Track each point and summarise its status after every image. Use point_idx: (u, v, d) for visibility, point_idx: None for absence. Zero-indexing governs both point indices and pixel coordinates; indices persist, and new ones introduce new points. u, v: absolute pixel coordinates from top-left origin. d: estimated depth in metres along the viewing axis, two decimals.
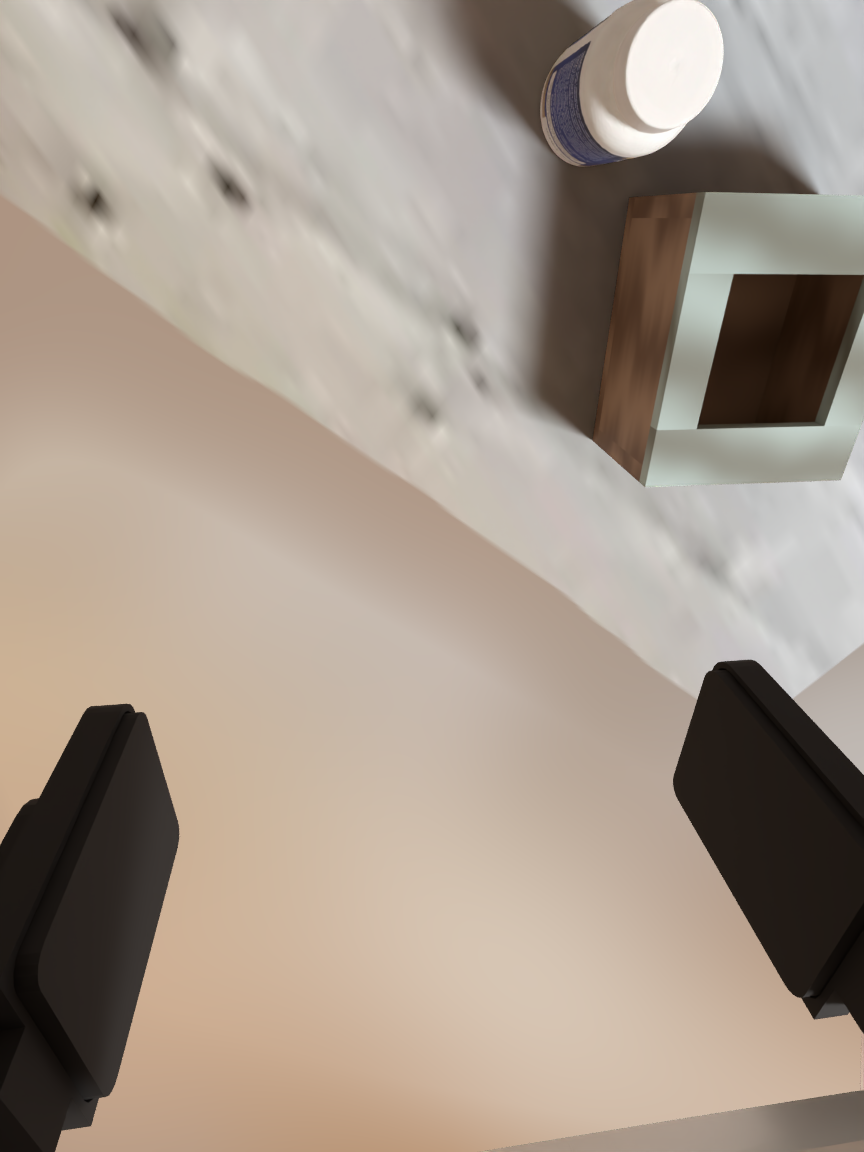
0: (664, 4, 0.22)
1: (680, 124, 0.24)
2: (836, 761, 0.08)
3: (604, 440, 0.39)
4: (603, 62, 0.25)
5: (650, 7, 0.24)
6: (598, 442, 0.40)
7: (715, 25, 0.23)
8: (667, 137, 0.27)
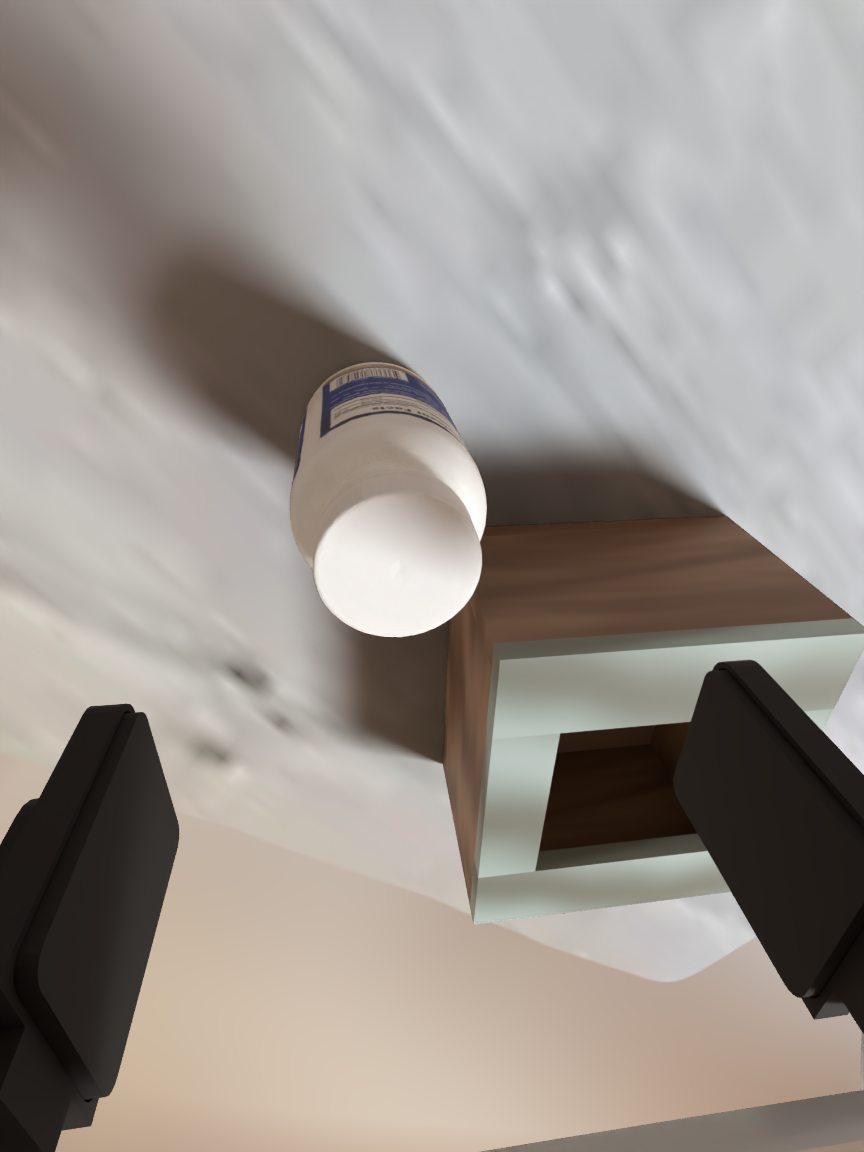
0: (362, 501, 0.13)
1: (426, 630, 0.15)
2: (836, 761, 0.08)
3: (449, 788, 0.30)
4: (308, 517, 0.15)
5: (371, 450, 0.15)
6: (446, 778, 0.31)
7: (458, 519, 0.14)
8: None
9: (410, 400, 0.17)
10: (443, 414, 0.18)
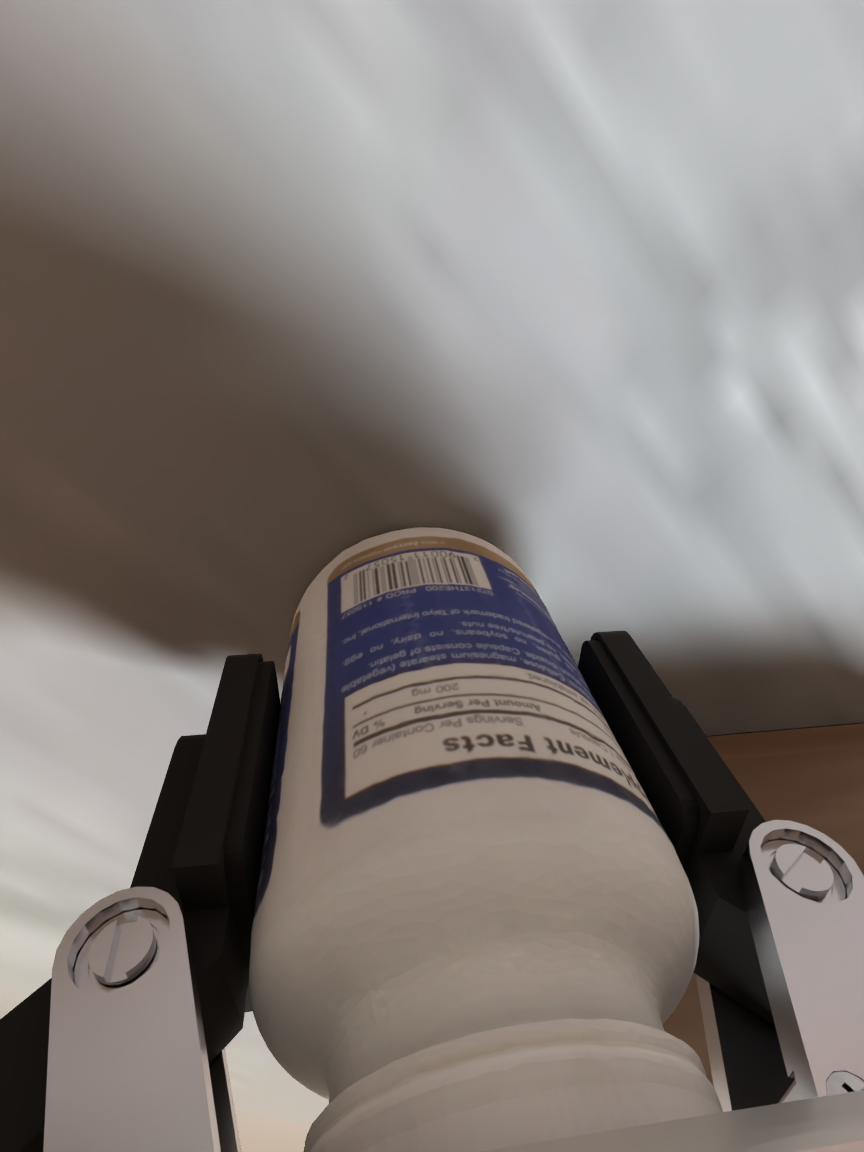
0: None
1: None
2: (673, 718, 0.09)
3: None
4: (291, 1037, 0.06)
5: (456, 924, 0.06)
6: None
7: None
8: None
9: (518, 683, 0.08)
10: (575, 684, 0.09)
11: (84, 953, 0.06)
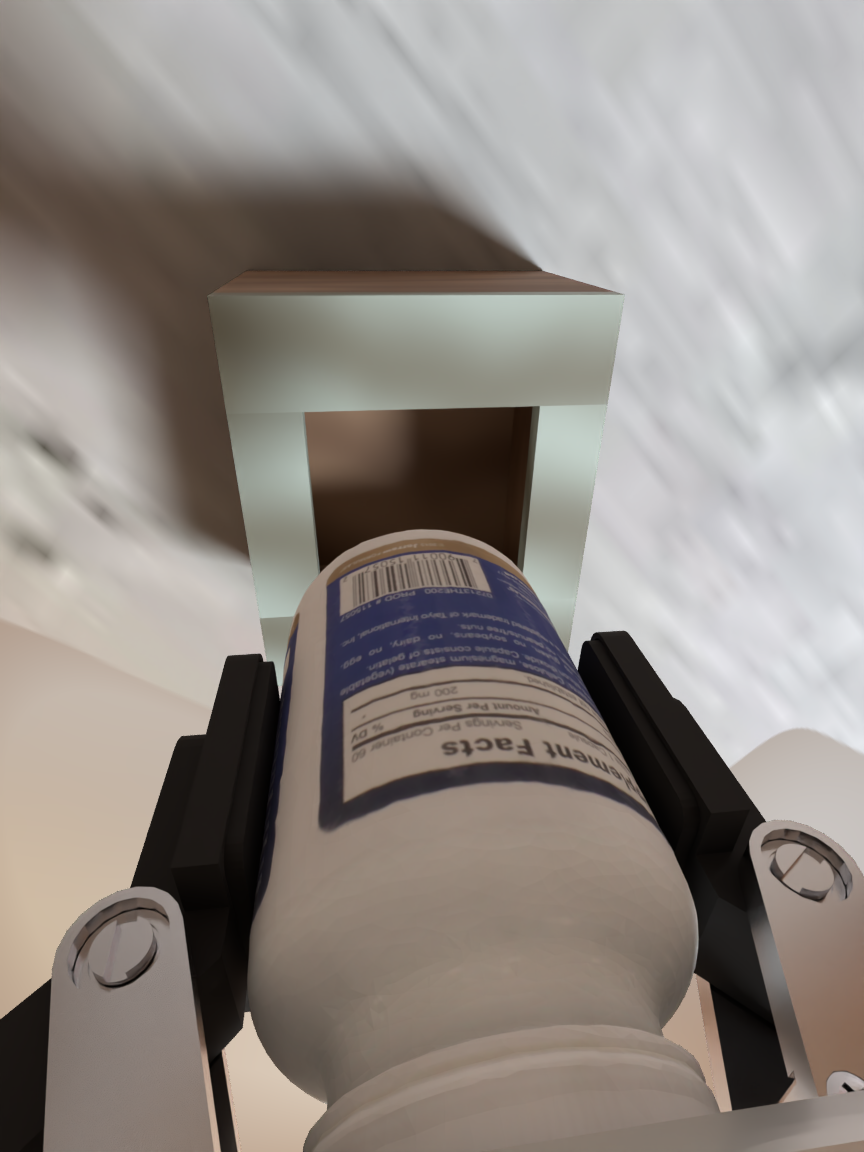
0: None
1: None
2: (673, 717, 0.09)
3: None
4: (289, 1042, 0.06)
5: (454, 930, 0.06)
6: None
7: None
8: None
9: (517, 686, 0.08)
10: (574, 687, 0.09)
11: (84, 953, 0.06)
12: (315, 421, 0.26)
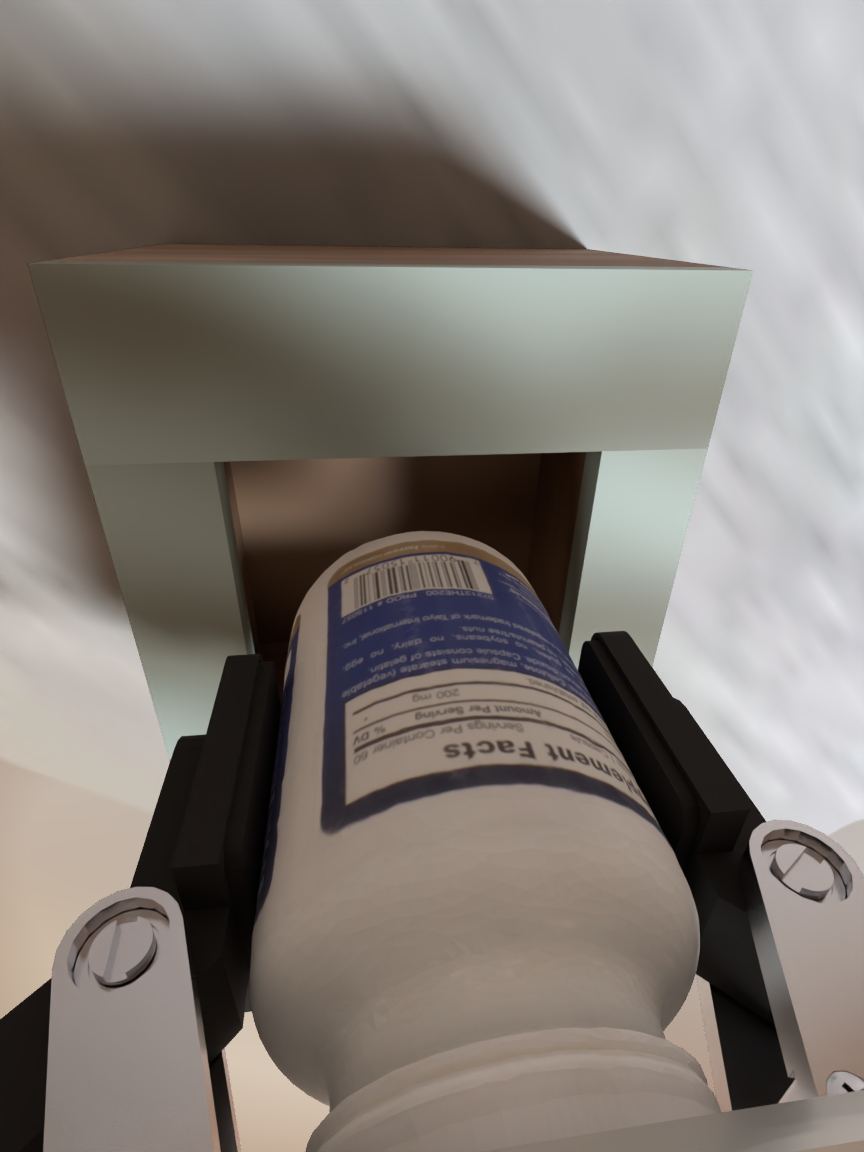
0: None
1: None
2: (673, 717, 0.09)
3: None
4: (291, 1044, 0.06)
5: (457, 933, 0.06)
6: None
7: None
8: None
9: (518, 689, 0.08)
10: (575, 689, 0.09)
11: (84, 953, 0.06)
12: None
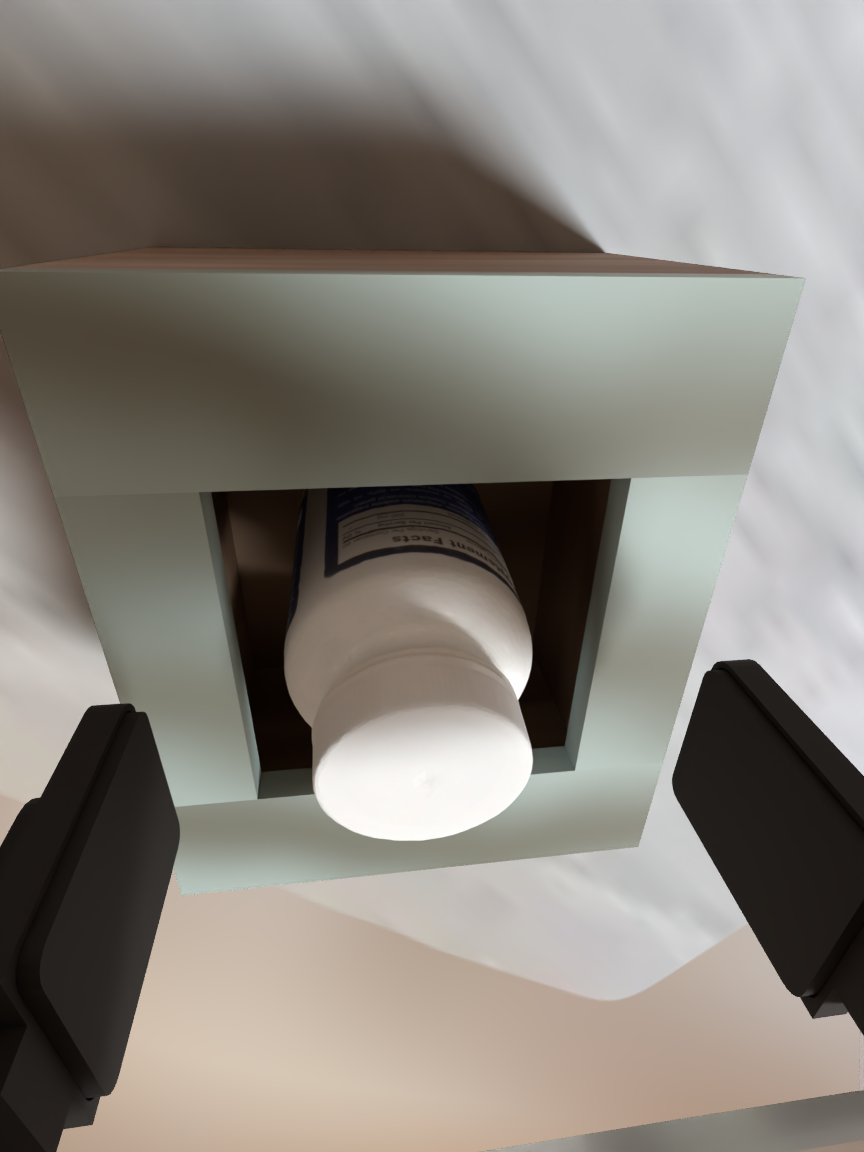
0: (380, 715, 0.10)
1: (454, 833, 0.12)
2: (835, 760, 0.08)
3: None
4: (308, 682, 0.12)
5: (392, 612, 0.11)
6: None
7: (507, 730, 0.10)
8: None
9: (440, 516, 0.13)
10: (479, 524, 0.14)
11: None
12: None
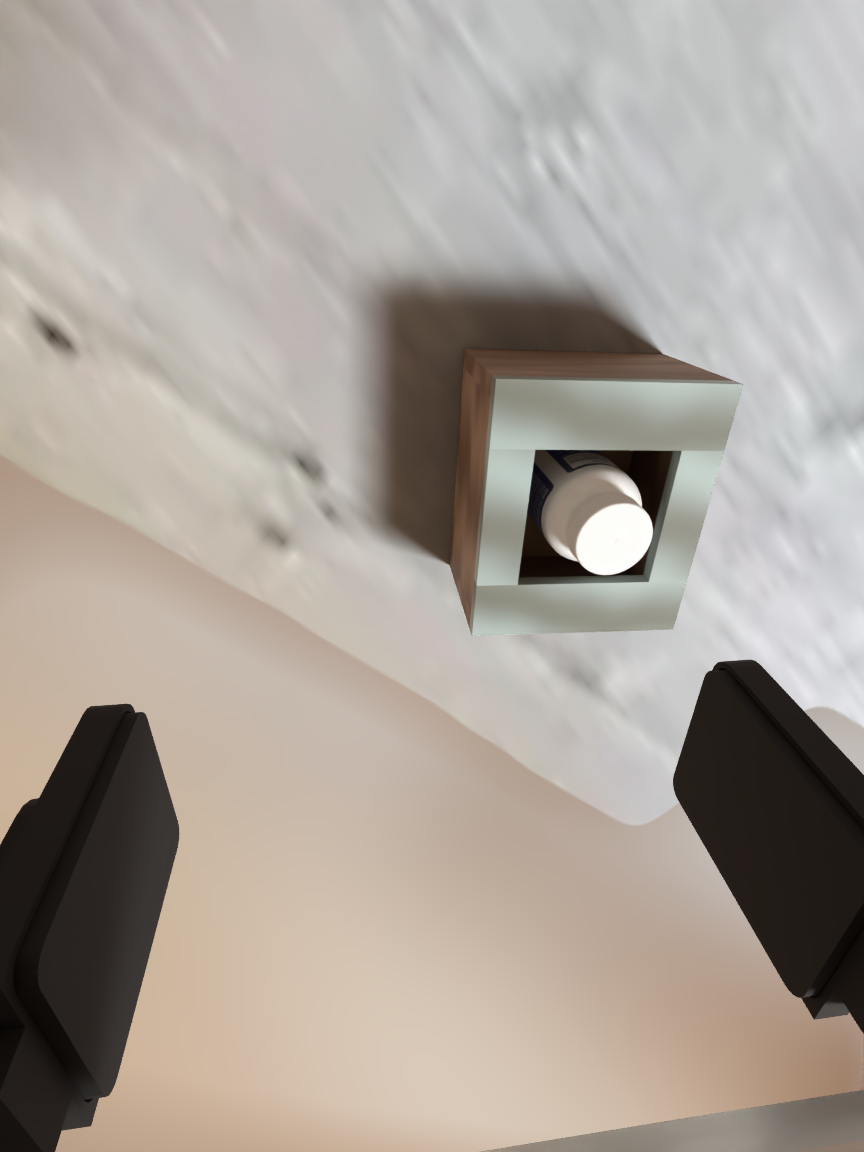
0: (609, 505, 0.29)
1: None
2: (836, 761, 0.08)
3: (455, 571, 0.39)
4: (561, 511, 0.31)
5: (601, 482, 0.30)
6: (452, 570, 0.40)
7: (647, 519, 0.29)
8: None
9: (604, 458, 0.33)
10: None
11: None
12: None
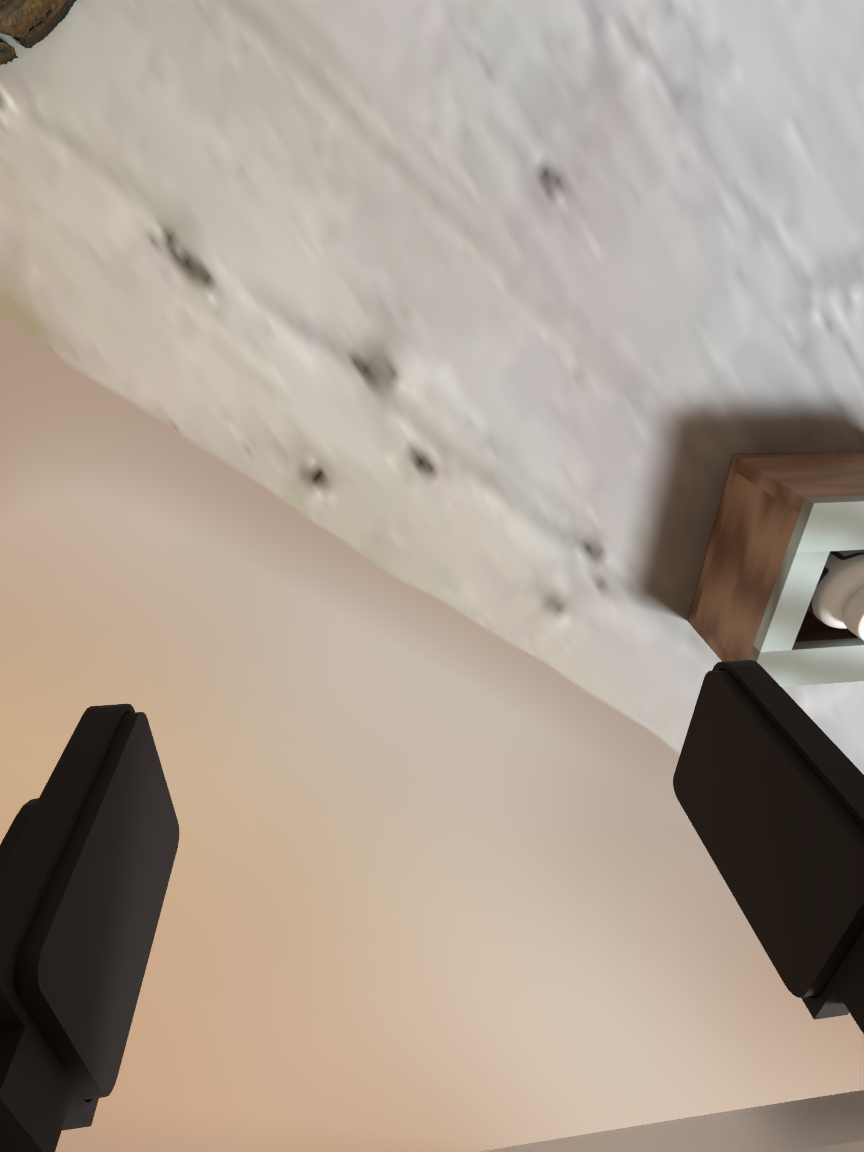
0: None
1: None
2: (836, 761, 0.08)
3: (702, 629, 0.47)
4: (838, 591, 0.39)
5: None
6: (695, 626, 0.48)
7: None
8: None
9: None
10: None
11: None
12: None
